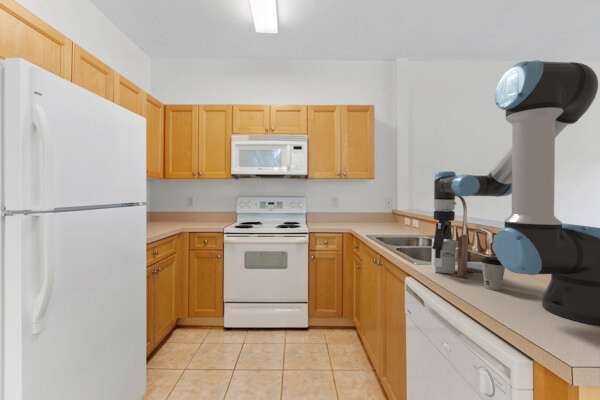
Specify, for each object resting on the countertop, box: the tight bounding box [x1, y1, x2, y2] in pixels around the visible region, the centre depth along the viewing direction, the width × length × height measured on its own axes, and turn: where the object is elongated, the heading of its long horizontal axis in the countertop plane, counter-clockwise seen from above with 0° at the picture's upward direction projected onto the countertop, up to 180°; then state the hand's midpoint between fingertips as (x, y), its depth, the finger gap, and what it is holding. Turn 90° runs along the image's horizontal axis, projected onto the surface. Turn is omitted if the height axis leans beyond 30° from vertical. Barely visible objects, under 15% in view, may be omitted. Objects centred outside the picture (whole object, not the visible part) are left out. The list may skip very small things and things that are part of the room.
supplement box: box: [430, 238, 457, 275], centre depth 116 cm, size 7×7×13 cm
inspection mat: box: [467, 262, 483, 274], centre depth 119 cm, size 10×10×1 cm
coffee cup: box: [480, 256, 506, 292], centre depth 96 cm, size 7×7×10 cm
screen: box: [451, 233, 474, 280], centre depth 112 cm, size 12×5×15 cm, turn 141°
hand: (442, 263), depth 116 cm, fingers open, 13 cm apart
